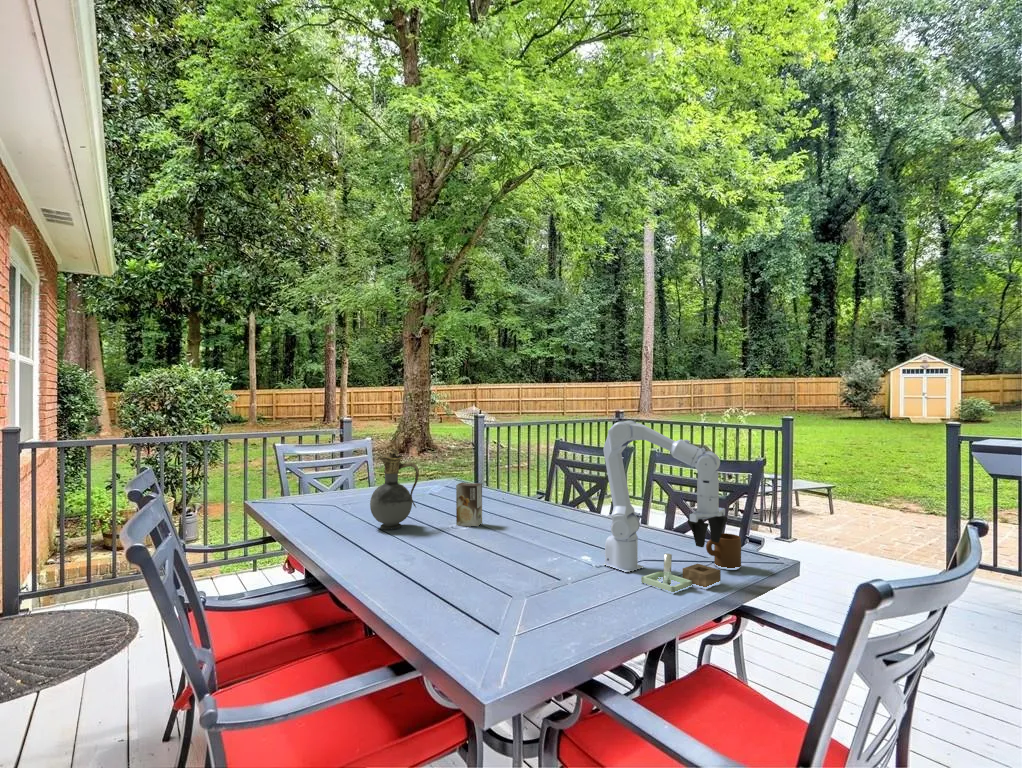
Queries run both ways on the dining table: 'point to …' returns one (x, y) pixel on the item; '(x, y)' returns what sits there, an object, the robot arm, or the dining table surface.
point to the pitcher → (392, 493)
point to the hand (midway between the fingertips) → (707, 544)
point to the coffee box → (468, 504)
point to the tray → (653, 581)
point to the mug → (726, 550)
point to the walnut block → (702, 575)
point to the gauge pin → (667, 569)
